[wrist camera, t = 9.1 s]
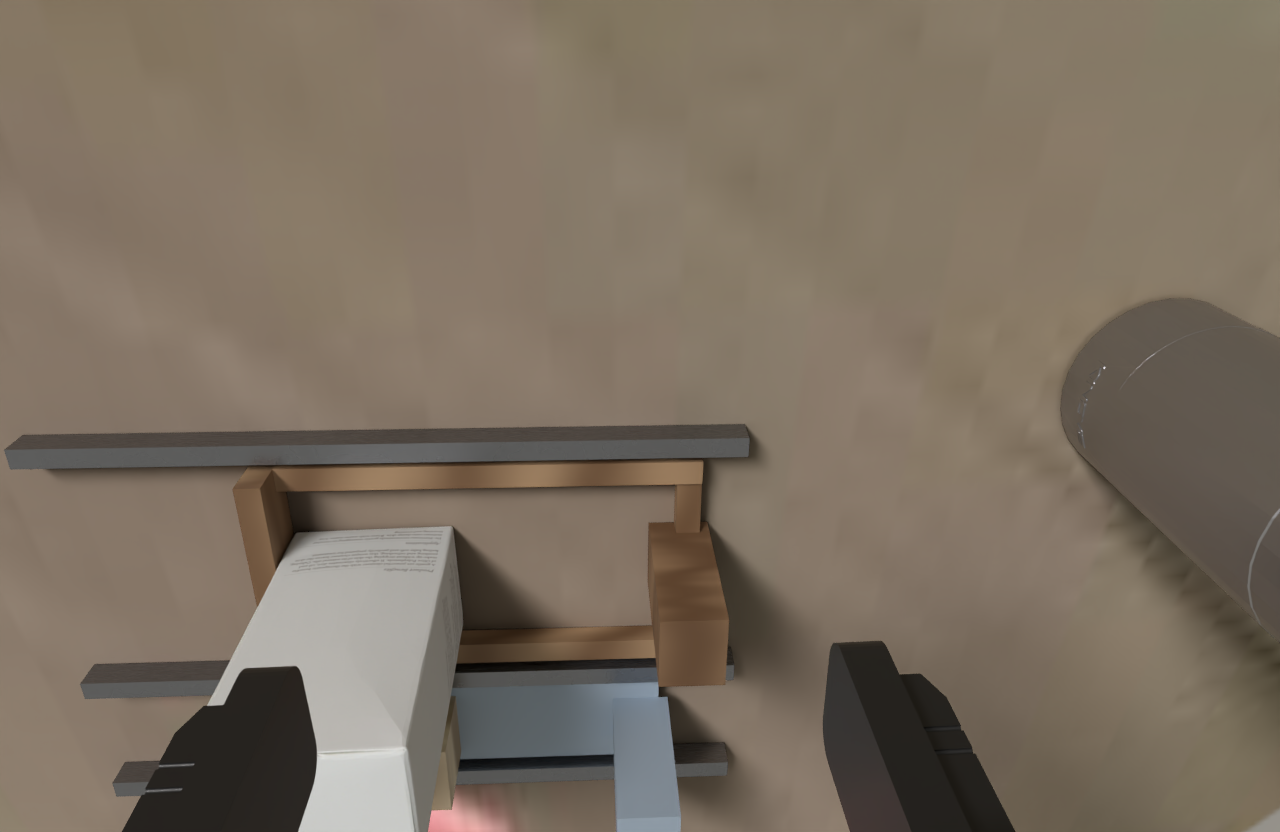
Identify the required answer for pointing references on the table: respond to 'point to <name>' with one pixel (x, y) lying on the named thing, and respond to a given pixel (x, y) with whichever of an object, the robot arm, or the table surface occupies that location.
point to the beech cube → (448, 761)
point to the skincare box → (365, 666)
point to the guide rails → (396, 450)
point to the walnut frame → (677, 550)
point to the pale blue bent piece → (583, 738)
